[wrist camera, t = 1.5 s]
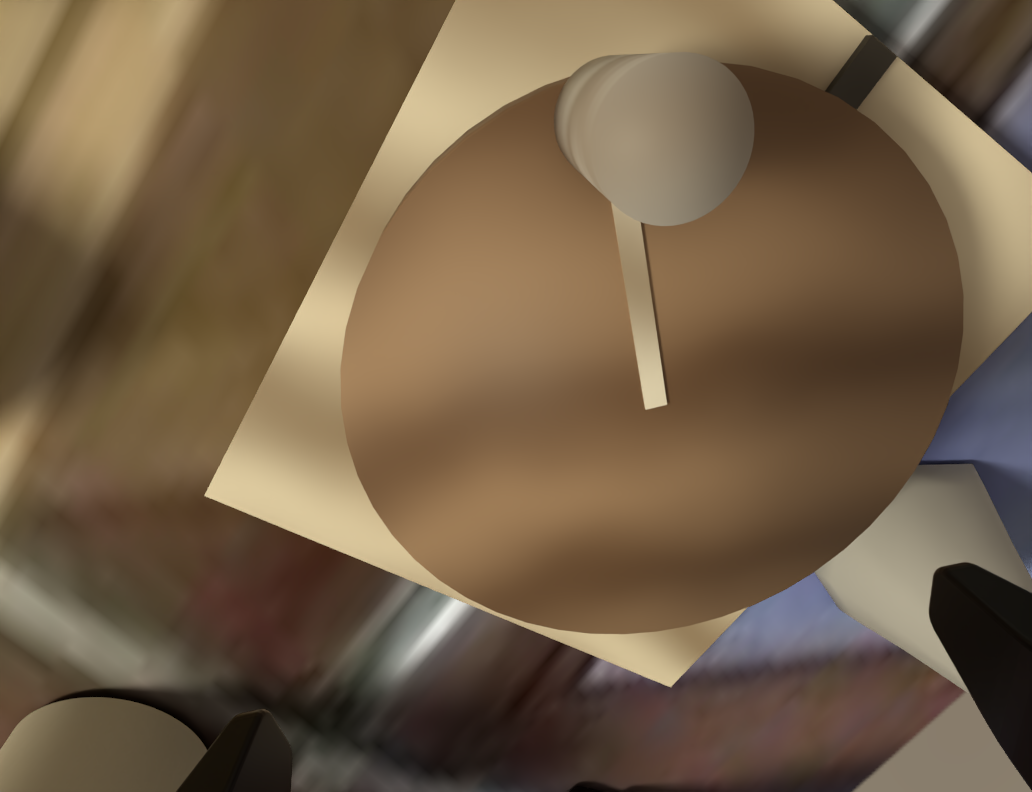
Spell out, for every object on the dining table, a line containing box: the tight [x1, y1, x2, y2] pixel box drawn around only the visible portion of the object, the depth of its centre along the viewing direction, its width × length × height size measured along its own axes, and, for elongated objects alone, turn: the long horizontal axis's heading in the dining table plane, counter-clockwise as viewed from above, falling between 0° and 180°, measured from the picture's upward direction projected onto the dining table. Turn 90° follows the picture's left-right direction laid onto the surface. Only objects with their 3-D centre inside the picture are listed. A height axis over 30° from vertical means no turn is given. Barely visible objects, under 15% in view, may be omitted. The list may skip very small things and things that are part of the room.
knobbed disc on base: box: [340, 52, 964, 634], centre depth 17 cm, size 17×17×7 cm
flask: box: [815, 464, 1032, 694], centre depth 22 cm, size 7×7×10 cm
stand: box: [204, 0, 1032, 687], centre depth 21 cm, size 21×19×2 cm
